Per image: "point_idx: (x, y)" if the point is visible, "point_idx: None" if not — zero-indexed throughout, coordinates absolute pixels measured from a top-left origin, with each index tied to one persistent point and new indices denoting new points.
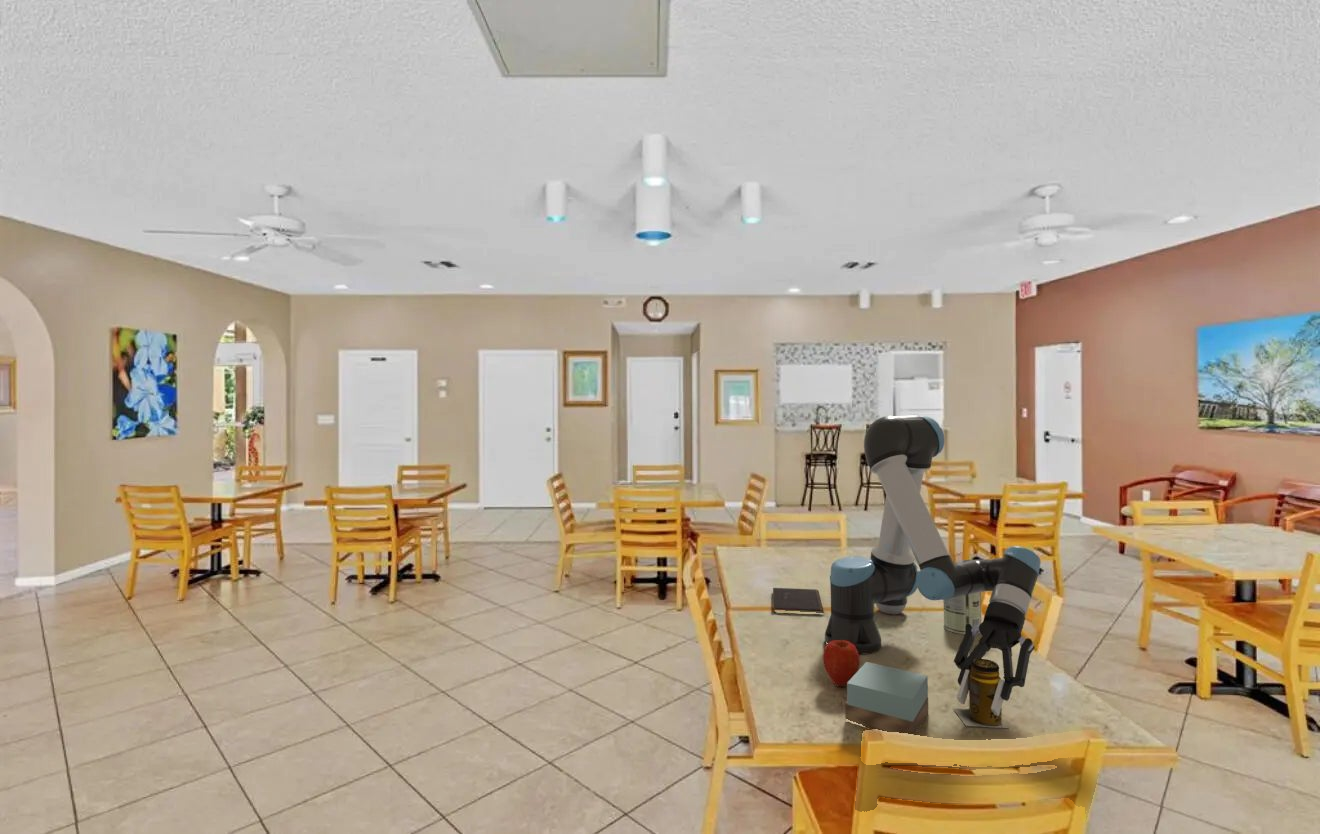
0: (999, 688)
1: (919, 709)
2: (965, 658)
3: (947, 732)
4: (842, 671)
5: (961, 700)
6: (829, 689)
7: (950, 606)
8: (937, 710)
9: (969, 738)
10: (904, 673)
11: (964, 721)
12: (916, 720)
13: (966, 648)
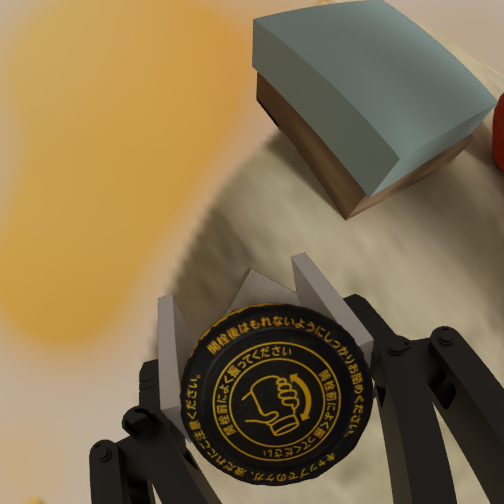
0: (166, 367)
1: (297, 109)
2: (447, 413)
3: (251, 196)
4: (496, 108)
5: (293, 270)
6: (485, 133)
7: None
8: (364, 272)
9: (200, 224)
10: (426, 110)
11: (275, 288)
12: (289, 116)
13: (482, 432)
